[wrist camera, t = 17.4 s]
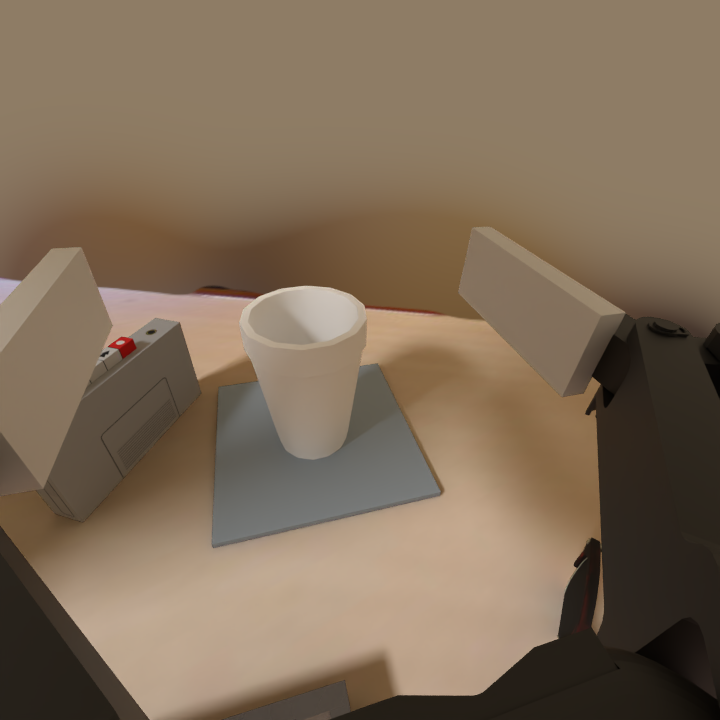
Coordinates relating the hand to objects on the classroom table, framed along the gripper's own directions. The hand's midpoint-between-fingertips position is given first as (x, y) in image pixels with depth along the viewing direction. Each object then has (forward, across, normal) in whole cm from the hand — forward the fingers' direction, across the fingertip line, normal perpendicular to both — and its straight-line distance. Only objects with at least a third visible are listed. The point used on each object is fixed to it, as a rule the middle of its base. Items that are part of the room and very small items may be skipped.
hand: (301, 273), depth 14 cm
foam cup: (+12, +2, -22) cm, 25 cm away
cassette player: (+16, -14, -23) cm, 31 cm away
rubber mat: (+12, +2, -22) cm, 26 cm away
